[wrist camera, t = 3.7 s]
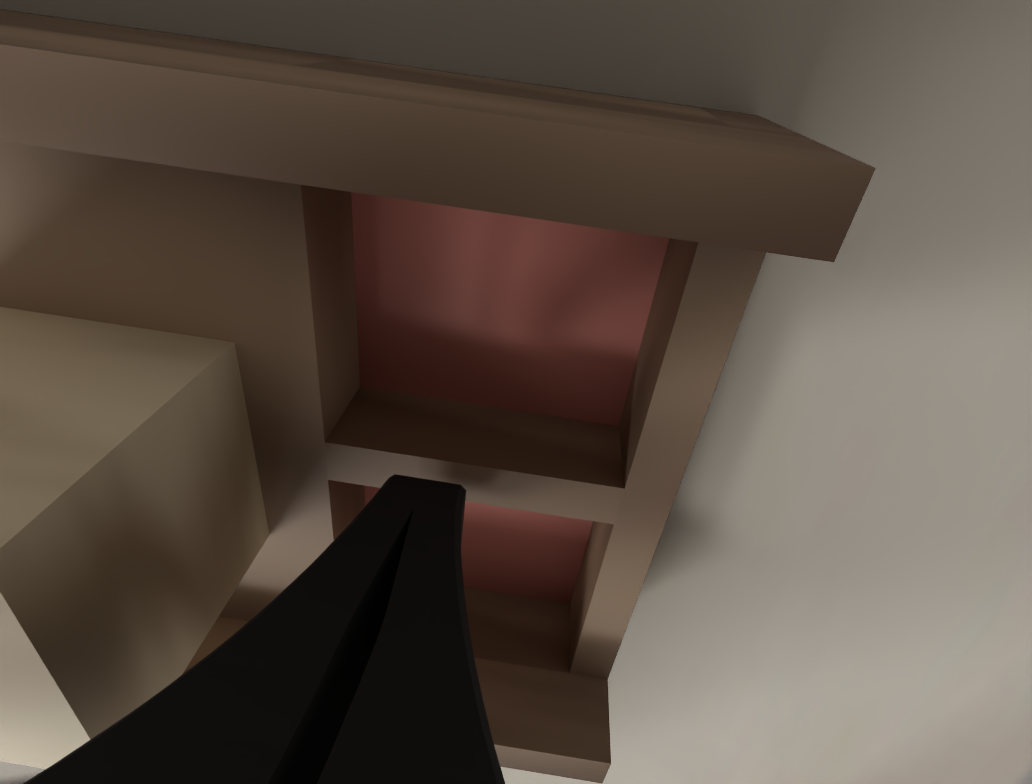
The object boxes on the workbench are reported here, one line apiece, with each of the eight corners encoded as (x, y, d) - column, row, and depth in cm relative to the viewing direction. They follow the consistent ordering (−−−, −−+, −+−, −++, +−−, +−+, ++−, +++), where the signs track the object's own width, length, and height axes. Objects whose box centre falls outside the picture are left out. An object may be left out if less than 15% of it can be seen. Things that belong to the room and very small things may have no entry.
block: (269, 535, 13) (115, 780, 8) (56, 501, 13) (-199, 727, 9) (234, 342, 10) (-17, 562, 6) (-36, 301, 10) (-475, 490, 6)
